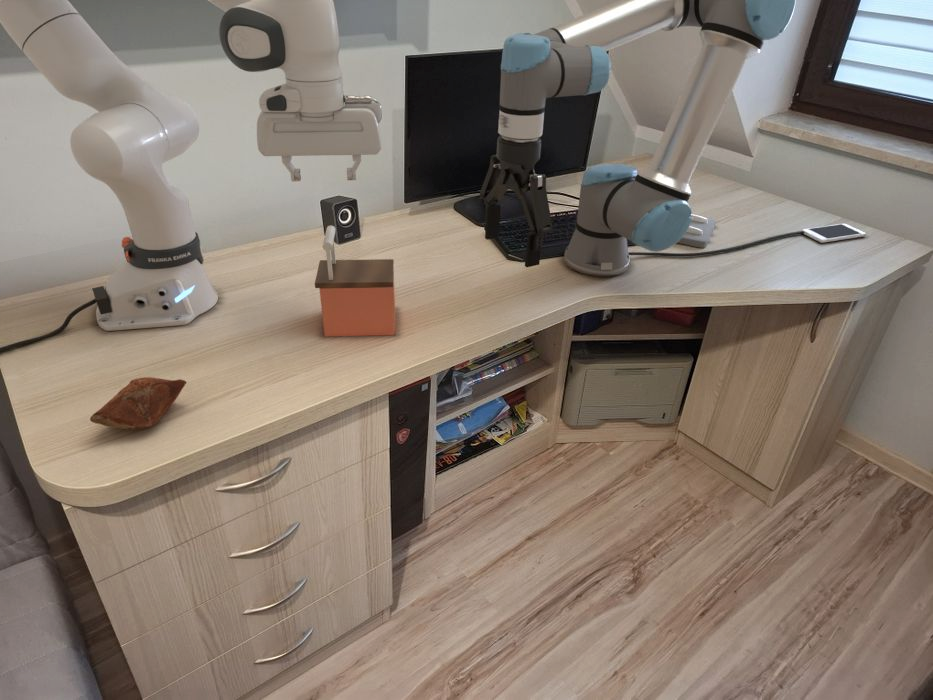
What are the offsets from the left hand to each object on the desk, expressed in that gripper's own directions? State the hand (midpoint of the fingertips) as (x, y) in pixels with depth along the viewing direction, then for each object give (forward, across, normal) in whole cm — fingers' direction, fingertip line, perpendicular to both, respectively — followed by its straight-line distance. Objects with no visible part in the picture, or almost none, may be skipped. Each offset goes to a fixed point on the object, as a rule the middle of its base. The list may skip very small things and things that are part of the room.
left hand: (324, 179), depth 110 cm
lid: (+18, -4, +1) cm, 19 cm away
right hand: (+14, -33, +2) cm, 36 cm away
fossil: (+28, +29, +28) cm, 49 cm away
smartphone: (+29, -130, -34) cm, 137 cm away
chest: (+29, -4, +1) cm, 29 cm away
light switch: (+29, -89, -39) cm, 101 cm away
